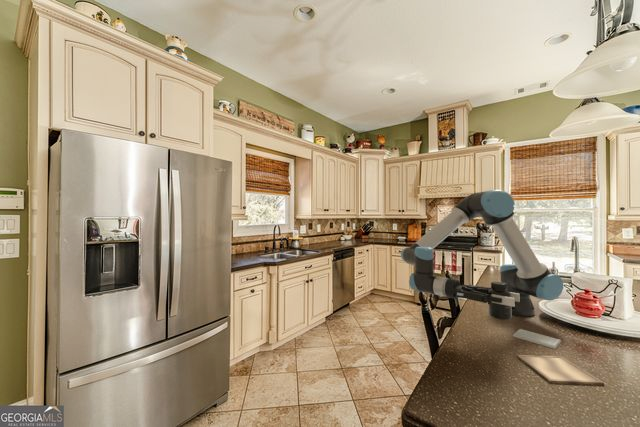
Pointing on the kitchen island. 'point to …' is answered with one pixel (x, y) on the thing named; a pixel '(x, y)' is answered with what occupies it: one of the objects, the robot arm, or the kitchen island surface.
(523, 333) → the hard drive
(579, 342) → the kitchen island surface
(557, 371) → the cork mat
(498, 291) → the supplement bottle
